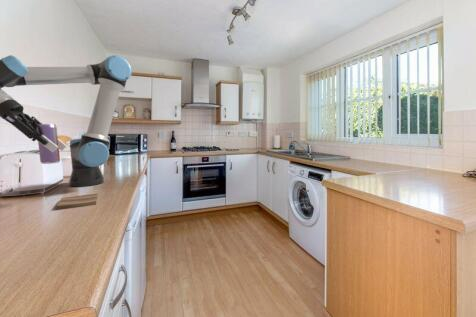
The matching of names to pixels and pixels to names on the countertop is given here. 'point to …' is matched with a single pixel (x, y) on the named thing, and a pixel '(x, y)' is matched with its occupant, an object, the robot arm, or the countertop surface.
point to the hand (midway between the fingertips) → (59, 148)
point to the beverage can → (51, 134)
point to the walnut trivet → (77, 201)
